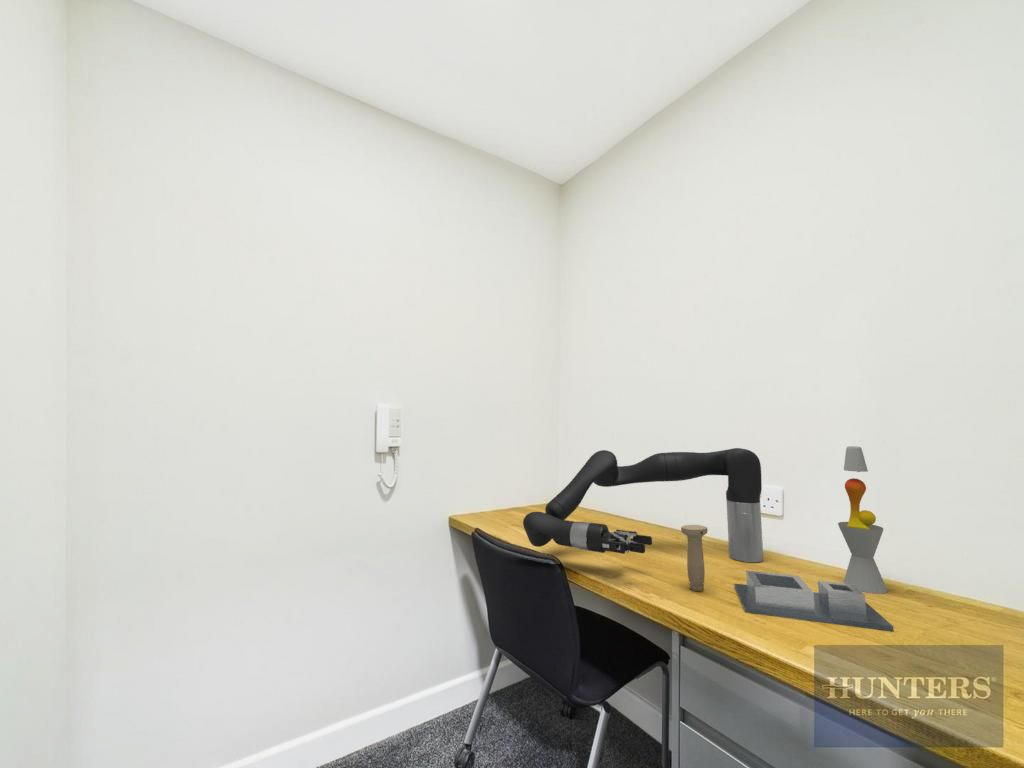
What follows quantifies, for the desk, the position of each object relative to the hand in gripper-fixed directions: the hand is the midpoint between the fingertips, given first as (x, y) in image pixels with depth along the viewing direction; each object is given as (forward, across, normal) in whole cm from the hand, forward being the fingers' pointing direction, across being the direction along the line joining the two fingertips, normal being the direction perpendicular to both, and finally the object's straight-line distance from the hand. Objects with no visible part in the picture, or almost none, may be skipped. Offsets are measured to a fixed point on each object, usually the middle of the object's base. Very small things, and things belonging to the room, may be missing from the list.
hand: (648, 544), depth 112 cm
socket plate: (+34, -1, -9) cm, 35 cm away
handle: (+12, 0, -9) cm, 15 cm away
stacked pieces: (+48, -23, -9) cm, 54 cm away
